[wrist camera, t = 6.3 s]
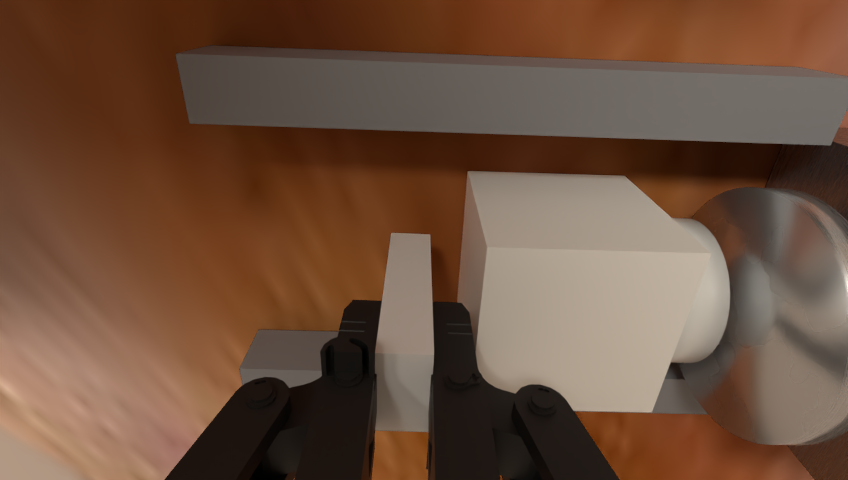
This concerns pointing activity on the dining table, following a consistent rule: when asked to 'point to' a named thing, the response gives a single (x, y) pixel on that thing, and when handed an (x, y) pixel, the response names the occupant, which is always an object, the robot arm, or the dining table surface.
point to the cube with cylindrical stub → (586, 287)
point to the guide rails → (499, 121)
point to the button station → (784, 309)
